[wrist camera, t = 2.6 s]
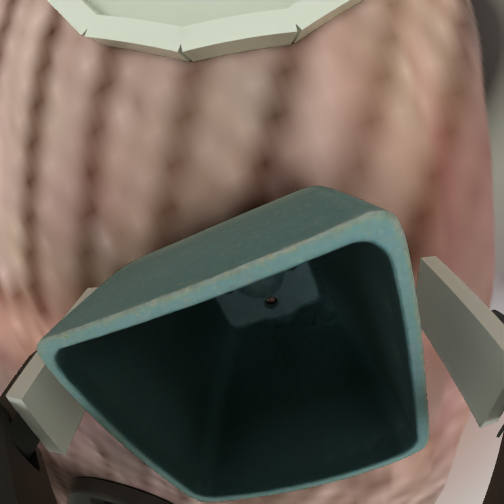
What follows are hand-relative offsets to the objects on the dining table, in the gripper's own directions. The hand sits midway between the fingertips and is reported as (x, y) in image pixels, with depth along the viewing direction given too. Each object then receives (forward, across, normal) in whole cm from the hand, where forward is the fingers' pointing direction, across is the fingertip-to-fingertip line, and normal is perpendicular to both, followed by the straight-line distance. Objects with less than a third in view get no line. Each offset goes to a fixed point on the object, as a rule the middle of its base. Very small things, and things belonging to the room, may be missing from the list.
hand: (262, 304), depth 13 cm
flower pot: (+3, 0, 0) cm, 3 cm away
